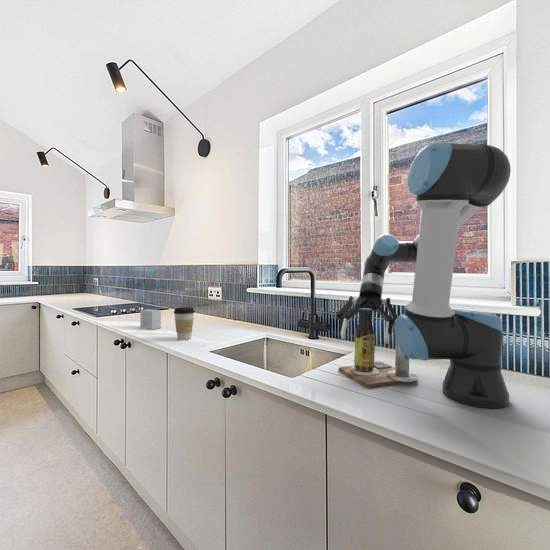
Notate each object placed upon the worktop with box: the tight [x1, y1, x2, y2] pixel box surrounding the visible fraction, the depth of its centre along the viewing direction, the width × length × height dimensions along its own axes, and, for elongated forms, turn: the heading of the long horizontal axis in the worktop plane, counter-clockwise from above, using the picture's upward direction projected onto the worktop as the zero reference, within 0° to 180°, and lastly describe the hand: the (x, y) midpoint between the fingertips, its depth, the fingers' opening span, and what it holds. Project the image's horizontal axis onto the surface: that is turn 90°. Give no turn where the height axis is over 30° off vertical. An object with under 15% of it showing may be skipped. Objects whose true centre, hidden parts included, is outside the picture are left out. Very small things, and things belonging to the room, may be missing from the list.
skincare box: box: [139, 308, 162, 330], centre depth 178 cm, size 10×6×10 cm, turn 60°
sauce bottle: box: [353, 308, 376, 372], centre depth 100 cm, size 6×6×20 cm
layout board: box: [338, 360, 419, 389], centre depth 98 cm, size 18×18×2 cm
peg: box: [394, 339, 410, 378], centre depth 95 cm, size 4×4×14 cm
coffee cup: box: [173, 306, 196, 341], centre depth 150 cm, size 10×10×15 cm
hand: (363, 339), depth 98 cm, fingers open, 13 cm apart
